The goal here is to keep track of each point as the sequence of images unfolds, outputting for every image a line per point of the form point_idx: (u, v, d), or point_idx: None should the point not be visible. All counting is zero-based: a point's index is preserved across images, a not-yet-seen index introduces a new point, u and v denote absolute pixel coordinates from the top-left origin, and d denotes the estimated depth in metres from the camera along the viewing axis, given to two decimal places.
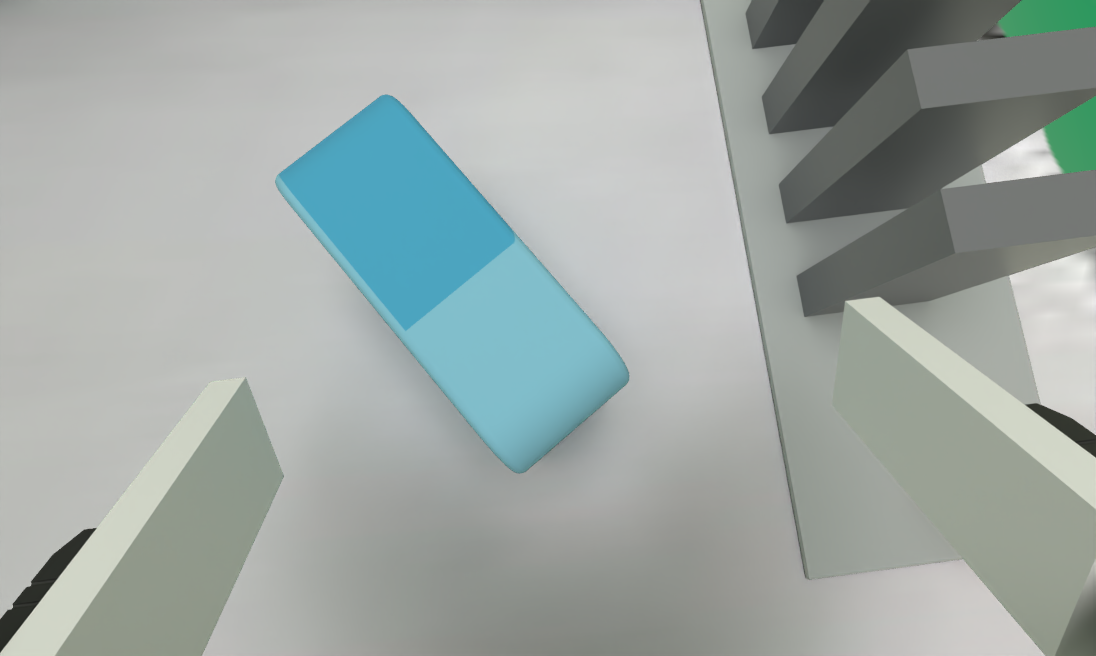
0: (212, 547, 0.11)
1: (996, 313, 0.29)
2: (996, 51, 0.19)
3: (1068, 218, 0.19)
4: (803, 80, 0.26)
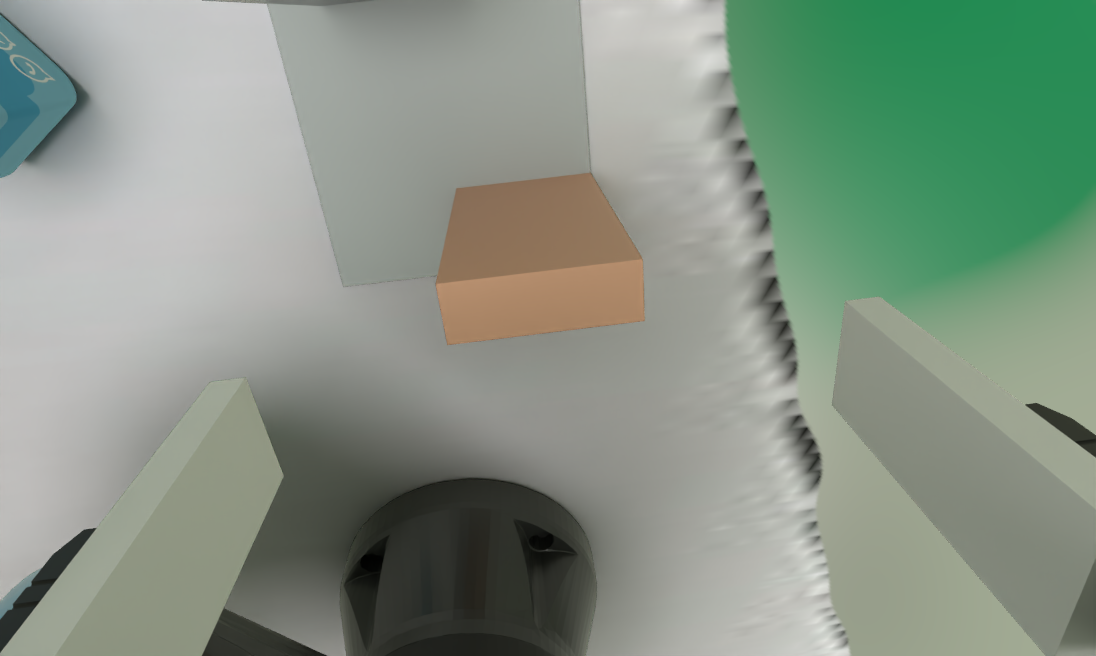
0: (211, 546, 0.11)
1: (554, 8, 0.25)
2: None
3: None
4: None
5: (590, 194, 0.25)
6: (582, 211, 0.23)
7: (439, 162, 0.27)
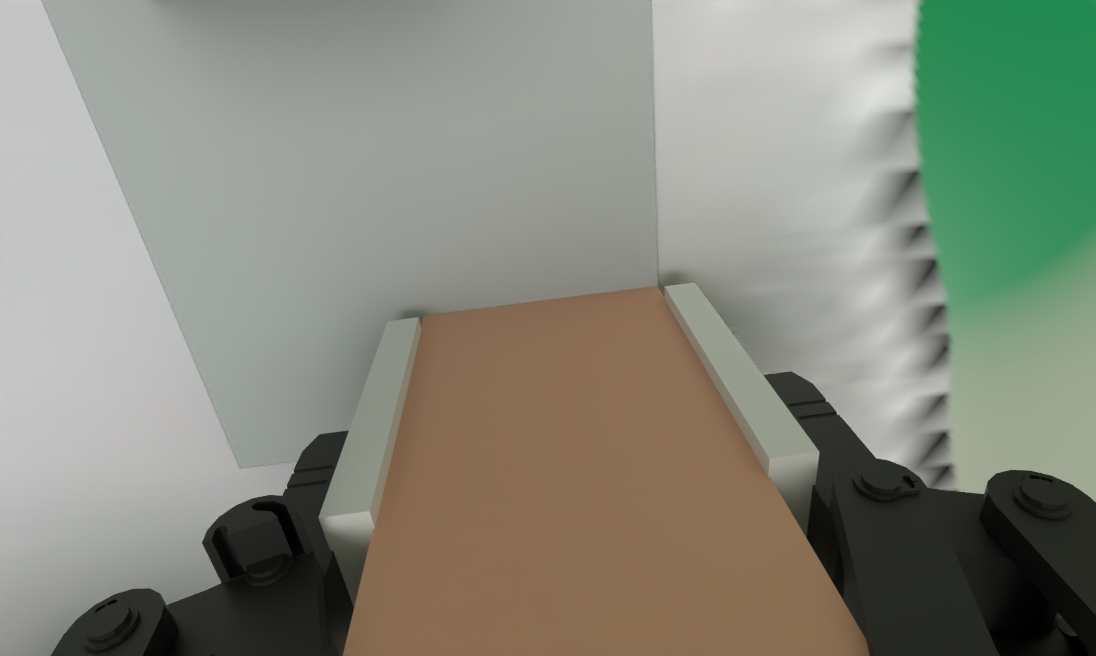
0: None
1: None
2: None
3: None
4: None
5: (674, 356, 0.13)
6: (671, 421, 0.11)
7: (392, 273, 0.15)
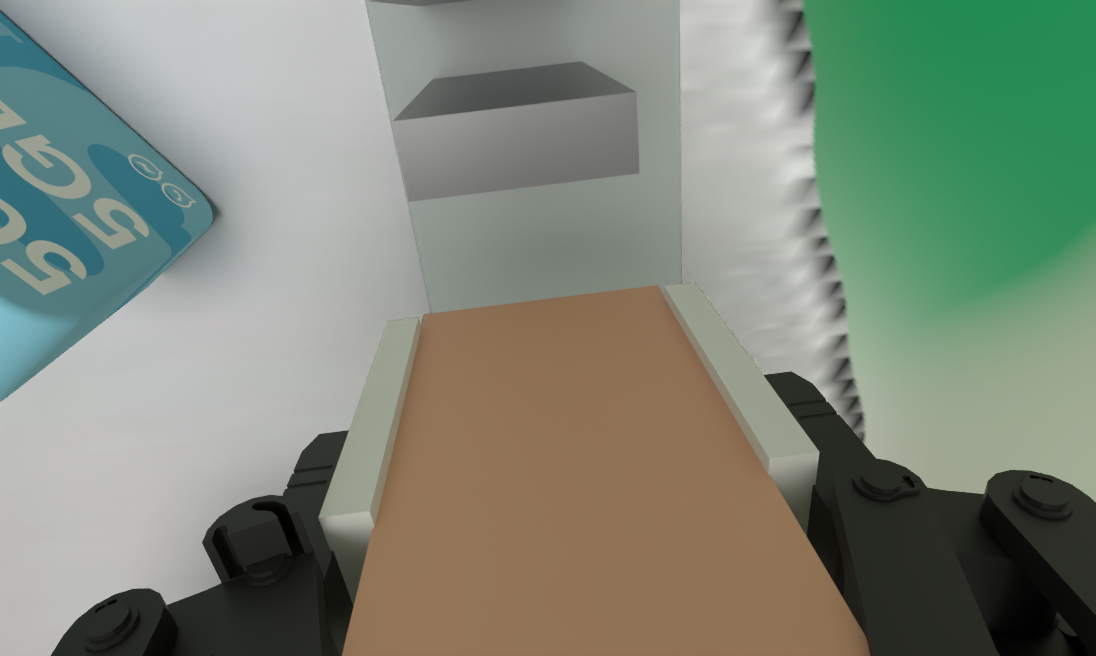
0: None
1: (657, 128, 0.26)
2: None
3: (543, 161, 0.16)
4: None
5: (674, 355, 0.13)
6: (672, 421, 0.11)
7: (541, 263, 0.29)
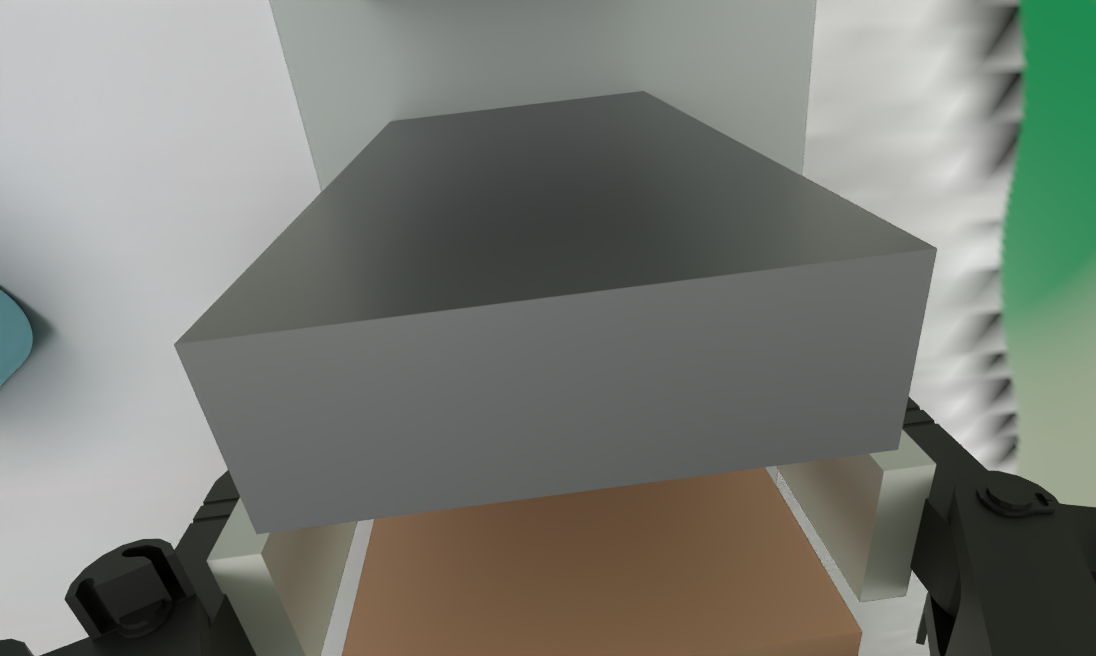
0: None
1: None
2: None
3: (638, 431, 0.05)
4: None
5: None
6: None
7: None
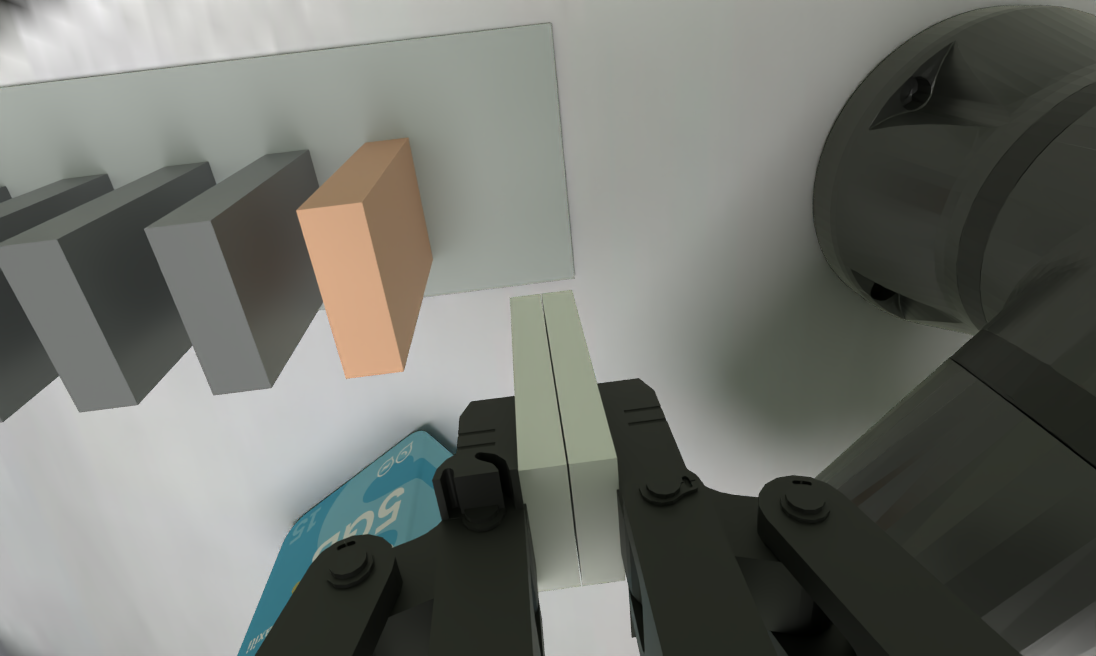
0: None
1: (311, 76, 0.27)
2: (54, 341, 0.20)
3: (217, 296, 0.20)
4: None
5: None
6: None
7: (456, 186, 0.30)
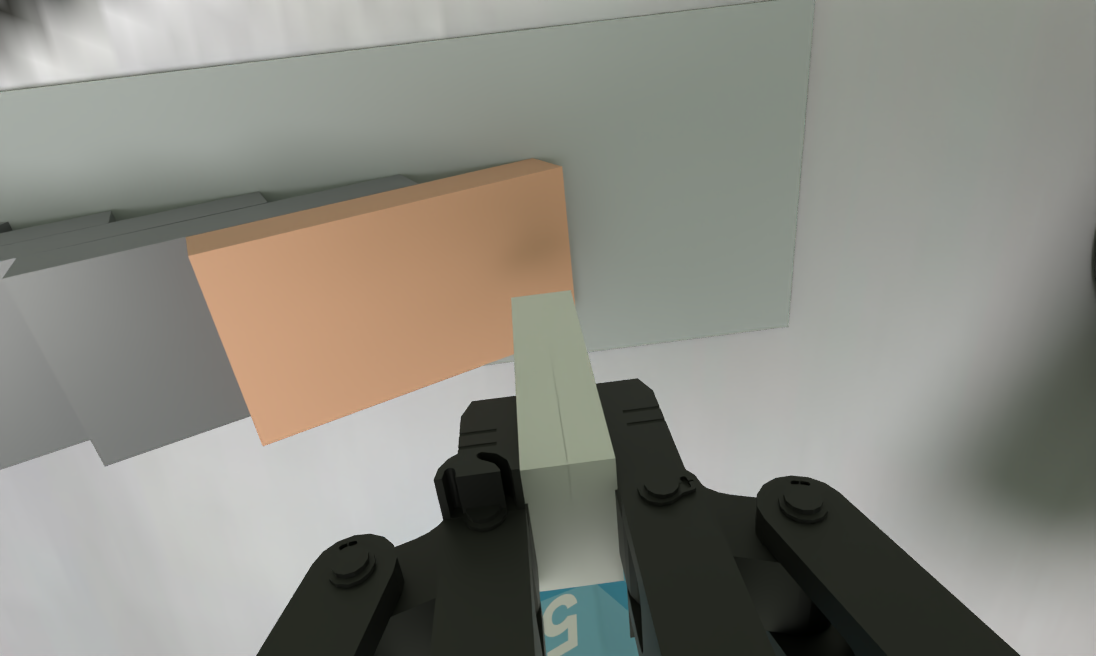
0: None
1: (490, 68, 0.20)
2: None
3: None
4: None
5: None
6: None
7: (659, 213, 0.23)
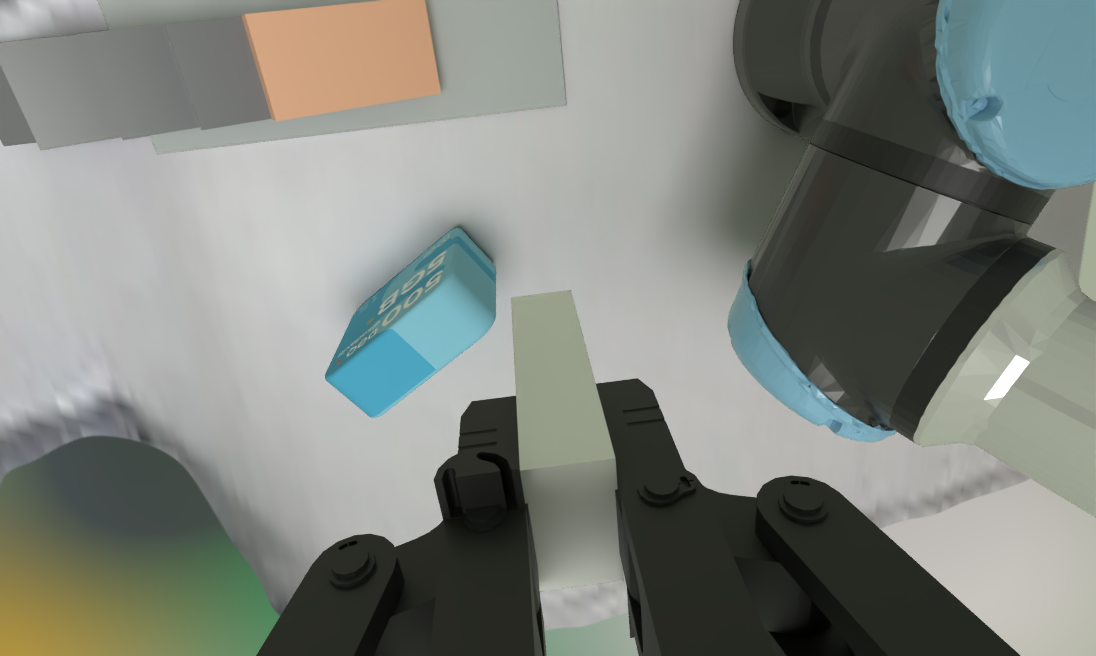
0: None
1: None
2: None
3: None
4: None
5: None
6: None
7: (484, 31, 0.43)
